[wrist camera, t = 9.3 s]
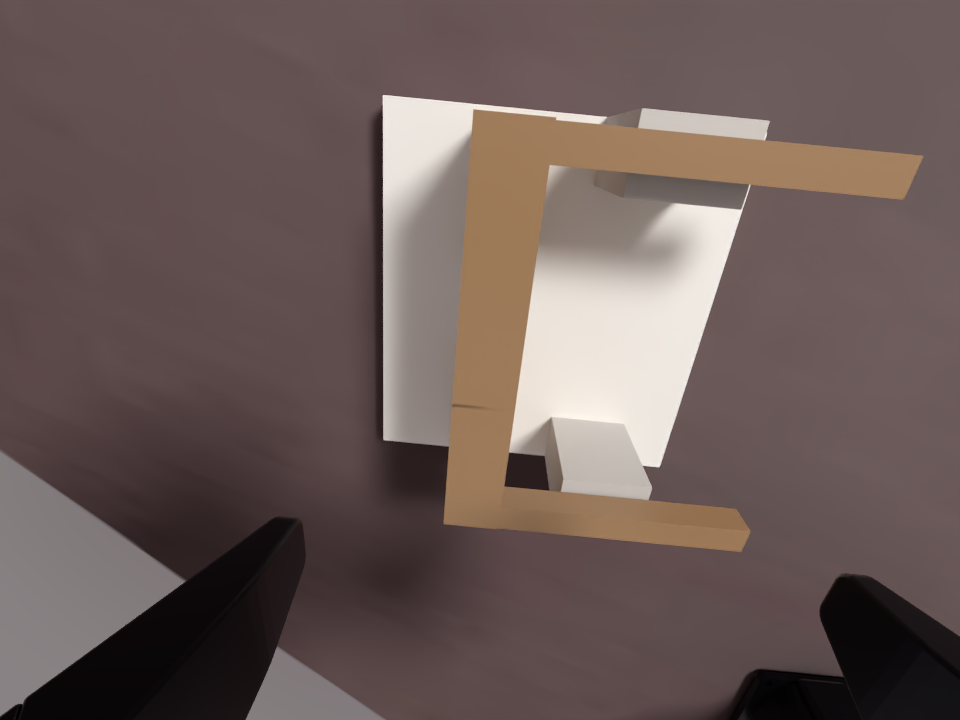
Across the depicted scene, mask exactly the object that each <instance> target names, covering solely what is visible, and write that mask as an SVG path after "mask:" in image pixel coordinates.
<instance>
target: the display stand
mask: <svg viewBox="0 0 960 720" xmlns="http://www.w3.org/2000/svg"><path fill="white" fill-rule="evenodd" d="M473 109H476V110H486V111H496V112H506V113H517V114H527V115H537V116H547V117H556V120H561V121H572V122H582V123H592V124H602V125H612V126H623V127H633V128H643V129H653V130H664V131H674V132H684V133H694V134H705V135H715V136H725V137H735V138H745V139H756V140H765V138H766V135H767V133H766V131H767V128H768V125H769V122H770V121H765V120H755V119H745V118H735V117H725V116H715V115H705V114H695V113H685V112H675V111H664V110H654V109H644V108H641V109H638V110H634V111H630V112H626V113H622V114H618V115H614V116H610V117H599V116H589V115H579V114H569V113H559V112H549V111H539V110H529V109H519V108H509V107H499V106H489V105H479V104H468V103H458V102H448V101H438V100H428V99H418V98H408V97H398V96H388V95H383V440H387V441H397V442H407V443H418V444H428V445H438V446H448V447H449V441H450V427H451V413H452V399H453V385H454V371H455V357H456V343H457V329H458V316H459V302H460V288H461V274H462V260H463V246H464V232H465V218H466V204H467V191H468V177H469V163H470V149H471V135H472V121H473ZM749 188H750V185H749V184H739V183H729V182H719V181H708V180H698V179H688V178H678V177H668V176H657V175H647V174H637V173H627V172H616V171H606V170H596V169H586V168H575V167H565V166H555V165H550V166H549V173H548V180H547V187H546V194H545V201H544V208H543V215H542V222H541V229H540V236H539V244H538V251H537V258H536V265H535V272H534V279H533V286H532V293H531V300H530V307H529V314H528V321H527V328H526V336H525V343H524V350H523V357H522V364H521V371H520V378H519V385H518V392H517V399H516V406H515V413H514V420H513V427H512V435H511V442H510V449H509V453H519V454H530V455H540V456H545V463H546V470H547V477H548V484H549V491H556V492H566V493H577V494H587V495H597V496H608V497H618V498H628V499H638V500H648V499H649V496H650V493H651V490H652V486H651V484H650V482H649V480H648V477H647V475H646V473H645V470H644V468H643V466H652V467H660V465H661V461H662V458H663V455H664V452H665V449H666V446H667V443H668V440H669V437H670V433H671V430H672V427H673V424H674V421H675V418H676V415H677V412H678V409H679V405H680V402H681V399H682V396H683V393H684V390H685V387H686V384H687V381H688V377H689V374H690V371H691V368H692V365H693V362H694V359H695V356H696V353H697V350H698V346H699V343H700V340H701V337H702V334H703V331H704V328H705V325H706V322H707V318H708V315H709V312H710V309H711V306H712V303H713V300H714V297H715V294H716V290H717V287H718V284H719V281H720V278H721V275H722V272H723V269H724V266H725V262H726V259H727V256H728V253H729V250H730V247H731V244H732V241H733V238H734V235H735V231H736V228H737V225H738V222H739V219H740V216H741V213H742V210H743V207H744V203H745V200H746V197H747V194H748V191H749Z"/></svg>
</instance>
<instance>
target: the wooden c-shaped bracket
mask: <svg viewBox="0 0 960 720" xmlns="http://www.w3.org/2000/svg"><path fill="white" fill-rule="evenodd" d="M922 158H923V156H919V155H909V154H899V153H889V152H878V151H868V150H858V149H848V148H838V147H827V146H817V145H807V144H797V143H786V142H776V141H766V140H756V139H745V138H735V137H725V136H715V135H705V134H694V133H684V132H674V131H664V130H653V129H643V128H633V127H623V126H612V125H602V124H592V123H582V122H572V121H561V120H556V117H547V116H537V115H527V114H517V113H506V112H496V111H486V110H476V109H473V121H472V135H471V149H470V163H469V177H468V191H467V204H466V218H465V232H464V246H463V260H462V274H461V288H460V302H459V316H458V329H457V343H456V357H455V371H454V385H453V399H452V413H451V427H450V441H449V454H448V468H447V482H446V496H445V510H444V524H448V525H458V526H468V527H479V528H489V529H498V528H501V529H511V530H521V531H532V532H542V533H552V534H563V535H573V536H583V537H594V538H604V539H614V540H625V541H635V542H645V543H655V544H666V545H676V546H686V547H697V548H707V549H717V550H728V551H738V552H741V551H742V549H743V547H744V545H745V542H746V540H747V538H748V536H749V534H750V532H751V531H750V530H749V528H748V527H747V525H746V524H745V522H744V521H743V519H742V518H741V516H740V514H739V513H738V511H737V510H736V509H731V508H721V507H711V506H700V505H690V504H680V503H669V502H659V501H649V500H638V499H628V498H618V497H608V496H597V495H587V494H577V493H566V492H556V491H546V490H535V489H525V488H515V487H505V486H504V484H505V477H506V470H507V463H508V456H509V449H510V442H511V435H512V427H513V420H514V413H515V406H516V399H517V392H518V385H519V378H520V371H521V364H522V357H523V350H524V343H525V336H526V328H527V321H528V314H529V307H530V300H531V293H532V286H533V279H534V272H535V265H536V258H537V251H538V244H539V236H540V229H541V222H542V215H543V208H544V201H545V194H546V187H547V180H548V173H549V166H550V165H555V166H565V167H575V168H586V169H596V170H606V171H616V172H627V173H637V174H647V175H657V176H668V177H678V178H688V179H698V180H708V181H719V182H729V183H739V184H749V185H760V186H770V187H780V188H790V189H801V190H811V191H821V192H831V193H842V194H852V195H862V196H872V197H883V198H893V199H903V200H904V198H905V195H906V193H907V191H908V189H909V187H910V185H911V182H912V180H913V178H914V176H915V174H916V172H917V169H918V167H919V165H920V163H921V161H922Z"/></svg>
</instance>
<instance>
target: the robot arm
mask: <svg viewBox="0 0 960 720" xmlns="http://www.w3.org/2000/svg"><path fill="white" fill-rule="evenodd" d="M305 557H306V552H305V542H304V533H303V525H302V522H301V520H300V519H298V518H290V517H280V516H279V517H275V518H273V519H271V520H270V521H268V522H267V523H266V524H264V525H263V526H262V527H260V528H259V529H257V530H256V531H255V532H253V533H252V534H251V535H249V536H248V537H246V538H245V539H244V540H242V541H241V542H240V543H238V544H237V545H235V546H234V547H233V548H231V549H230V550H229V551H227V552H226V553H224V554H223V555H222V556H220V557H219V558H218V559H216V560H215V561H213V562H212V563H211V564H209V565H208V566H207V567H205V568H204V569H202V570H201V571H200V572H198V573H197V574H196V575H194V576H193V577H191V578H190V579H189V580H187V581H186V582H185V583H183V584H182V585H180V586H179V587H178V588H176V589H175V590H174V591H172V592H171V593H169V594H168V595H167V596H165V597H164V598H163V599H161V600H160V601H158V602H157V603H156V604H154V605H153V606H152V607H150V608H149V609H148V610H146V611H145V612H143V613H142V614H141V615H139V616H138V617H136V618H135V619H134V620H133V621H131V622H130V623H128V624H127V625H125V626H124V627H123V628H121V629H120V630H119V631H117V632H116V633H114V634H113V635H112V636H110V637H109V638H108V639H106V640H105V641H103V642H102V643H101V644H99V645H98V646H97V647H95V648H94V649H92V650H91V651H90V652H88V653H87V654H85V655H84V656H83V657H82V658H80V659H79V660H77V661H76V662H75V663H73V664H72V665H70V666H69V667H68V668H66V669H65V670H63V671H62V672H61V673H59V674H58V675H57V676H55V677H54V678H53V679H51V680H50V681H48V682H47V683H46V684H44V685H43V686H42V687H40V688H39V689H38V690H36V691H35V692H33V693H32V694H31V695H29V696H28V697H27V698H26V699H25V700H24V702H23V705H22V704H17V705H15V706H14V707H12V708H11V709H9V710H8V711H7V712H5V713H4V714H3V715H1V716H0V720H246V718H247V715H248V713H249V711H250V709H251V707H252V704H253V702H254V700H255V698H256V696H257V693H258V691H259V689H260V687H261V685H262V682H263V680H264V678H265V675H266V673H267V671H268V668H269V666H270V664H271V661H272V658H273V655H274V653H275V650H276V647H277V644H278V641H279V638H280V635H281V632H282V630H283V627H284V624H285V621H286V618H287V615H288V612H289V609H290V606H291V603H292V600H293V597H294V594H295V591H296V589H297V586H298V583H299V580H300V577H301V574H302V571H303V568H304V564H305ZM820 619H821V622H822V625H823V627H824V630H825V632H826V634H827V637H828V639H829V642H830V644H831V647H832V649H833V651H834V654H835V656H836V659H837V661H838V664H839V666H840V668H841V671H842V673H843V676H844V678H845V679H839V678H829V677H819V676H808V675H798V674H788V673H778V672H761V673H759V674H757V675H756V677H755V679H754V680H753V682H752V684H751V685H750V687H749V689H748V691H747V692H746V694H745V696H744V698H743V699H742V701H741V703H740V705H739V706H738V708H737V710H736V712H735V713H734V715H733V717H732V719H731V720H960V636H958V635H957V634H955V633H954V632H952V631H951V630H949V629H948V628H946V627H945V626H943V625H942V624H940V623H939V622H937V621H936V620H935V619H933V618H932V617H930V616H929V615H927V614H926V613H924V612H923V611H921V610H920V609H918V608H917V607H915V606H914V605H912V604H911V603H909V602H908V601H906V600H905V599H903V598H902V597H900V596H899V595H897V594H896V593H894V592H893V591H891V590H890V589H889V588H887V587H886V586H884V585H883V584H881V583H880V582H878V581H877V580H875V579H873V578H871V577H869V576H865V575H856V574H846V573H845V574H841V575H839V576H838V577H837V578H836V579H835V581H834V583H833V584H832V586H831V588H830V589H829V591H828V593H827V595H826V596H825V598H824V600H823V601H822V603H821V605H820Z"/></svg>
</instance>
